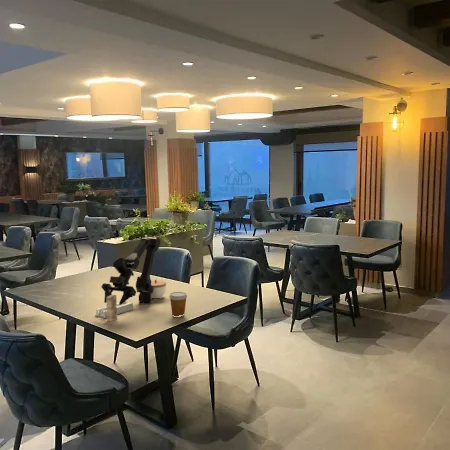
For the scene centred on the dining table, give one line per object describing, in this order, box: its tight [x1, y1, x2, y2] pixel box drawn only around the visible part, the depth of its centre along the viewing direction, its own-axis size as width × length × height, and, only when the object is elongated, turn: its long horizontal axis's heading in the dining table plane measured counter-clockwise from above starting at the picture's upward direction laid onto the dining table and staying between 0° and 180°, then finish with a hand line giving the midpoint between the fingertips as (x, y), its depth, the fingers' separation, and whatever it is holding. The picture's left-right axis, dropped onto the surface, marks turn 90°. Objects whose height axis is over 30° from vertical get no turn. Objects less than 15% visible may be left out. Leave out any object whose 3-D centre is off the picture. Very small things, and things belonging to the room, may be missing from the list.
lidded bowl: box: [151, 279, 167, 299], centre depth 281 cm, size 13×13×11 cm
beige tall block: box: [106, 294, 118, 322], centre depth 240 cm, size 5×3×12 cm, turn 158°
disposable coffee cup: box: [168, 291, 188, 316], centre depth 247 cm, size 10×10×12 cm
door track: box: [95, 300, 135, 319], centre depth 253 cm, size 20×8×4 cm, turn 144°
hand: (112, 303), depth 240 cm, fingers open, 9 cm apart
